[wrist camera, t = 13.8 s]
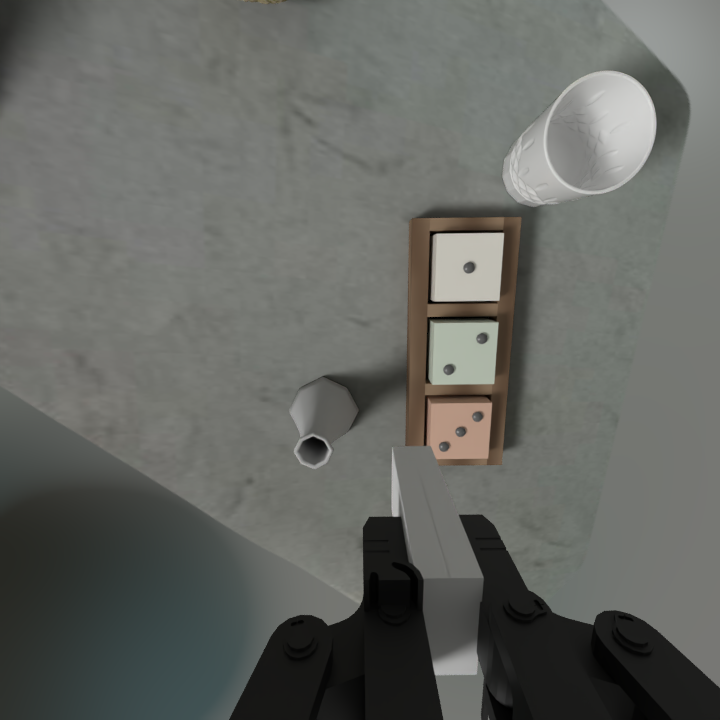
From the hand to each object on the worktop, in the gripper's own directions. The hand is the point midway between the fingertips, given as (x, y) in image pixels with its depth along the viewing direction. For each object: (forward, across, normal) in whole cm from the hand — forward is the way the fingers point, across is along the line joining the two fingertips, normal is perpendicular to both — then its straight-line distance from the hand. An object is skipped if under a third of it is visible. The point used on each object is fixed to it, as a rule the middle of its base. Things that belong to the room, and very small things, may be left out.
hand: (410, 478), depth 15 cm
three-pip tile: (+26, +8, -8) cm, 28 cm away
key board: (+26, +8, 0) cm, 28 cm away
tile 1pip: (+26, +8, +8) cm, 28 cm away
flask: (+27, -6, -7) cm, 28 cm away
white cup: (+27, +15, +17) cm, 35 cm away
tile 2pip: (+26, +8, 0) cm, 27 cm away
